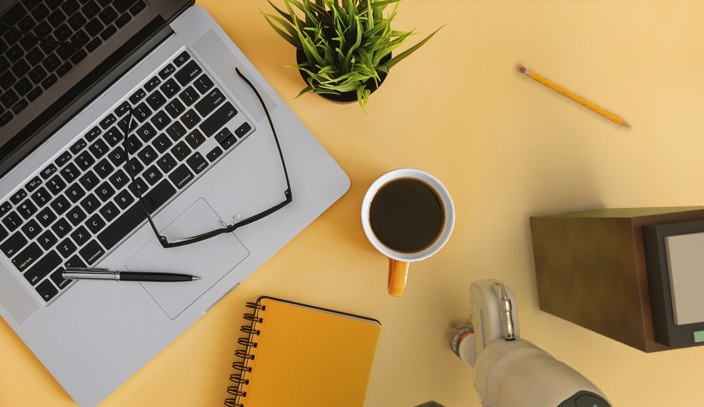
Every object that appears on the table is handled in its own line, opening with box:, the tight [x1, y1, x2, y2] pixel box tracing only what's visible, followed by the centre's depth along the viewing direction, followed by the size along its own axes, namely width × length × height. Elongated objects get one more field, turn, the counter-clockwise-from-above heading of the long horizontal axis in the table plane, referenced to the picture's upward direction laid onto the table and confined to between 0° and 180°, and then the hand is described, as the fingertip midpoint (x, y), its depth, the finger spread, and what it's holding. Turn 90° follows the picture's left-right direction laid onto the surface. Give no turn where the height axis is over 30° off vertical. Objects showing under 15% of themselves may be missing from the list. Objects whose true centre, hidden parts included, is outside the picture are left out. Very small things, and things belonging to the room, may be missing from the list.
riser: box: [529, 205, 704, 354], centre depth 70 cm, size 14×12×26 cm
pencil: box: [519, 66, 631, 128], centre depth 83 cm, size 1×19×1 cm, turn 64°
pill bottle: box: [448, 324, 477, 369], centre depth 77 cm, size 5×5×8 cm
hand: (478, 347), depth 75 cm, fingers open, 8 cm apart
